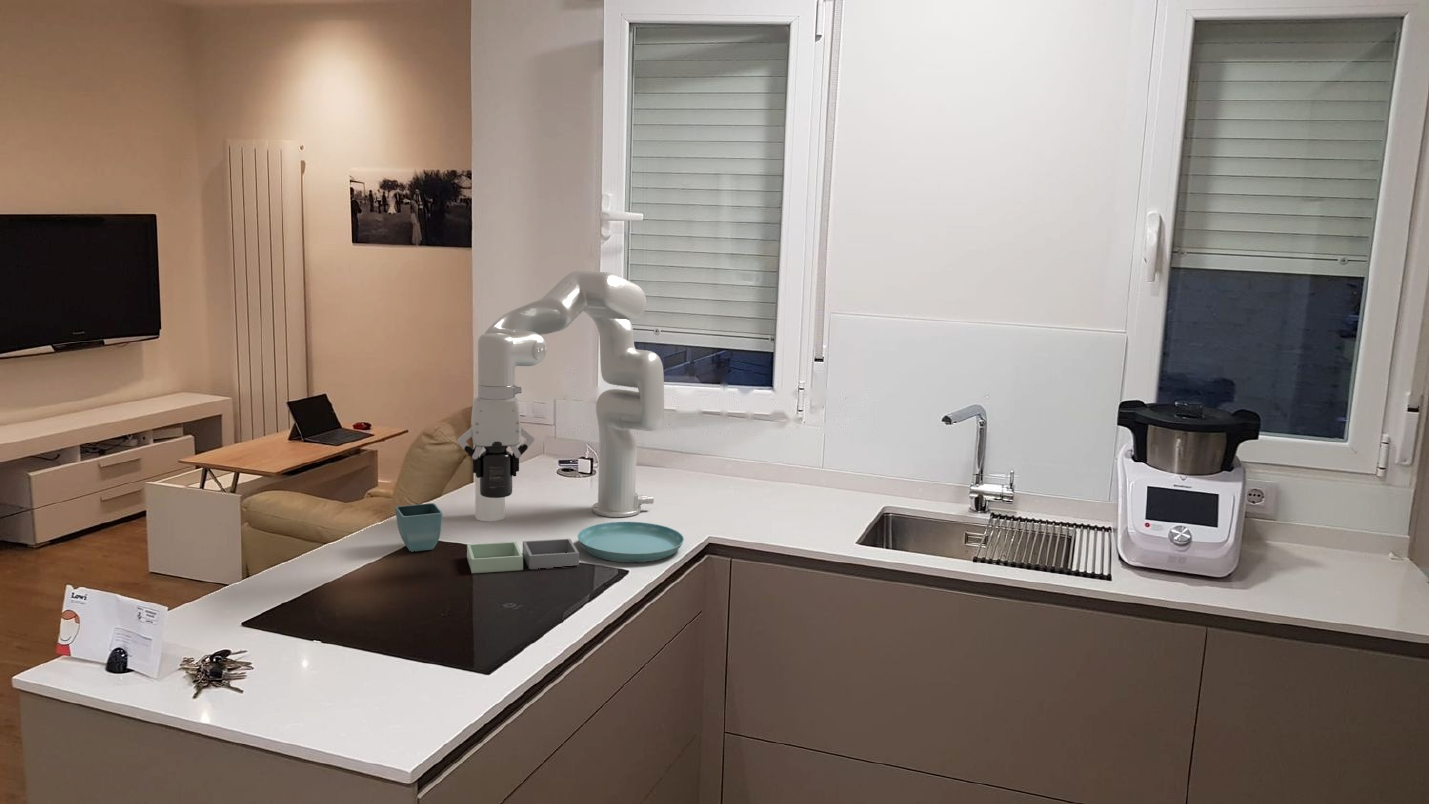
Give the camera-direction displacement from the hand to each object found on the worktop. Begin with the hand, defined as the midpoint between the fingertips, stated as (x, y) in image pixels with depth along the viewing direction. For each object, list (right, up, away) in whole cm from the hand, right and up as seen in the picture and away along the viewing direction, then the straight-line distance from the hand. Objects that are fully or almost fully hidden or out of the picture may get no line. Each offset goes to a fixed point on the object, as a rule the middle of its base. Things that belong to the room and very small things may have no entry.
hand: (495, 474), depth 223 cm
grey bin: (+10, -19, +7) cm, 23 cm away
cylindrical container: (-9, -13, +38) cm, 41 cm away
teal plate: (+27, -19, +17) cm, 37 cm away
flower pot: (-20, -17, +12) cm, 29 cm away
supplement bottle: (0, -4, +1) cm, 5 cm away
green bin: (-1, -19, +3) cm, 20 cm away
